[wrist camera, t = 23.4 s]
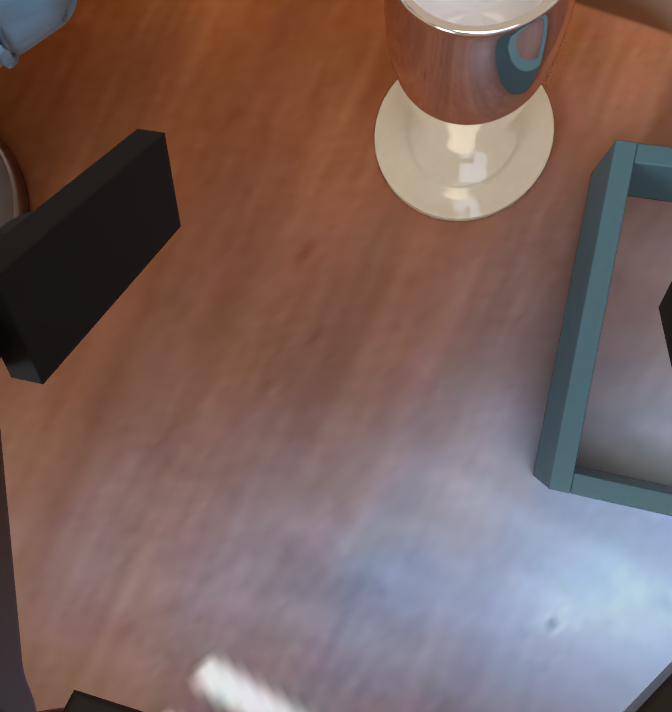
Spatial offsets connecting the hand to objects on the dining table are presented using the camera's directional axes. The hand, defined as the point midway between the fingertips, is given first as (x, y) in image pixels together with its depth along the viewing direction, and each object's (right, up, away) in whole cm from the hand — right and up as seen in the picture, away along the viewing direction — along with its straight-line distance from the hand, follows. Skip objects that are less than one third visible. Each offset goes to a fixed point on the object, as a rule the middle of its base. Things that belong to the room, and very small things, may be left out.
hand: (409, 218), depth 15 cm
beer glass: (+5, +9, +19) cm, 22 cm away
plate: (+5, +9, +19) cm, 22 cm away
